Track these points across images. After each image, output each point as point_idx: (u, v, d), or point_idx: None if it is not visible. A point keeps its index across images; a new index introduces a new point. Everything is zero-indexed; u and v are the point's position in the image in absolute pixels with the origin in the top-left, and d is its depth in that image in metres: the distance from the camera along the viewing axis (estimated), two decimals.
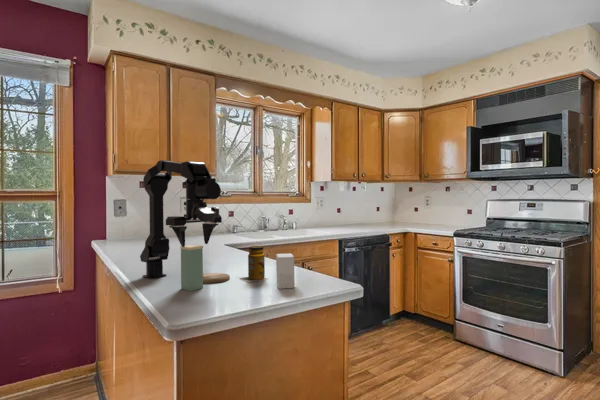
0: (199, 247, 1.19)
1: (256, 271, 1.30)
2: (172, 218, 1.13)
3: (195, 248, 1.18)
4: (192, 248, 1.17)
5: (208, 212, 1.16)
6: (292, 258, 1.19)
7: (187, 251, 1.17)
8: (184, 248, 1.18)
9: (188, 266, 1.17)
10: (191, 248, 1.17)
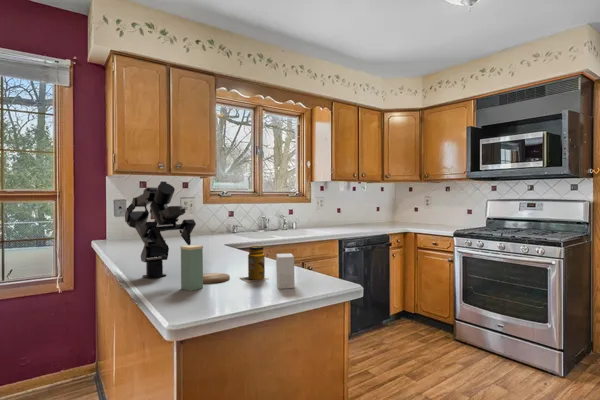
0: (199, 247, 1.19)
1: (256, 270, 1.30)
2: (143, 225, 1.22)
3: (195, 248, 1.18)
4: (192, 248, 1.17)
5: None
6: (292, 258, 1.19)
7: (187, 251, 1.17)
8: (184, 248, 1.18)
9: (188, 266, 1.17)
10: (191, 248, 1.17)
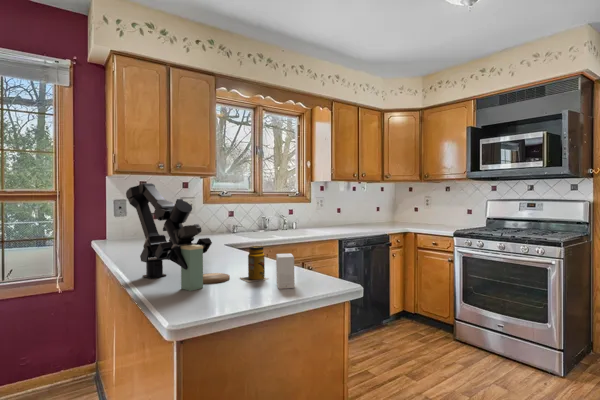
0: (199, 247, 1.19)
1: (256, 270, 1.30)
2: (158, 246, 1.16)
3: (195, 248, 1.18)
4: (192, 248, 1.17)
5: None
6: (292, 258, 1.19)
7: (187, 251, 1.17)
8: (184, 248, 1.18)
9: (188, 266, 1.17)
10: (191, 248, 1.17)
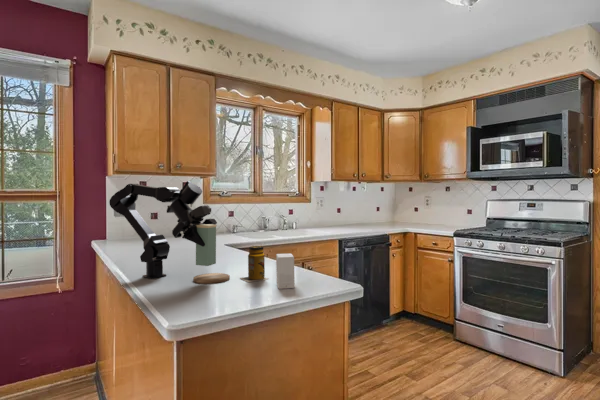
0: (214, 226, 1.29)
1: (256, 270, 1.30)
2: (177, 224, 1.22)
3: (211, 226, 1.27)
4: (209, 226, 1.26)
5: None
6: (292, 258, 1.19)
7: (204, 229, 1.26)
8: (201, 226, 1.26)
9: (206, 243, 1.26)
10: (209, 226, 1.26)
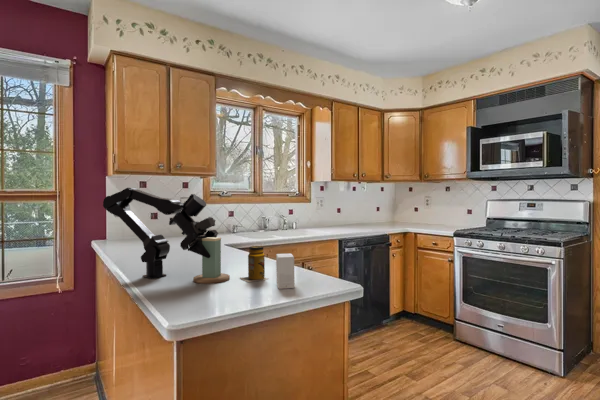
0: (219, 238, 1.33)
1: (256, 270, 1.30)
2: (186, 237, 1.25)
3: (217, 239, 1.32)
4: (216, 239, 1.31)
5: None
6: (292, 258, 1.19)
7: (211, 242, 1.30)
8: (207, 240, 1.30)
9: (213, 256, 1.30)
10: (215, 239, 1.30)
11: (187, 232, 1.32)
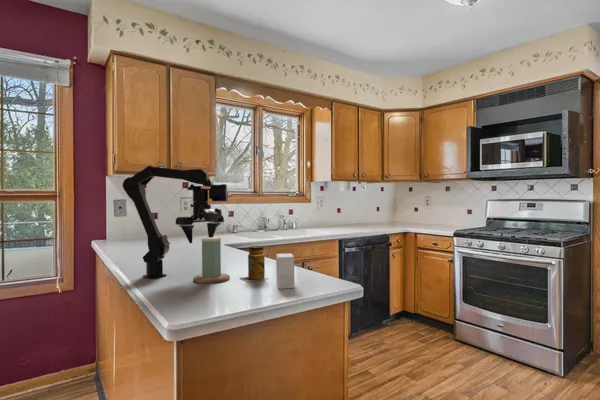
0: (219, 239, 1.33)
1: (256, 270, 1.30)
2: (181, 218, 1.32)
3: (217, 239, 1.32)
4: (216, 239, 1.30)
5: (212, 213, 1.34)
6: (292, 258, 1.19)
7: (211, 243, 1.30)
8: (207, 240, 1.30)
9: (212, 256, 1.30)
10: (215, 239, 1.30)
11: (193, 209, 1.38)
